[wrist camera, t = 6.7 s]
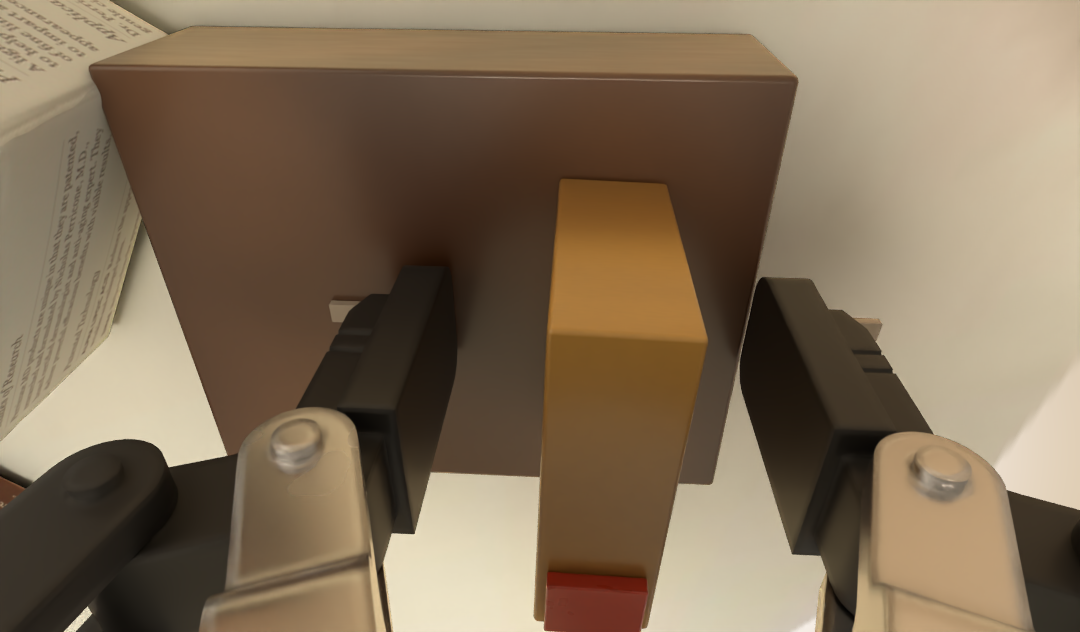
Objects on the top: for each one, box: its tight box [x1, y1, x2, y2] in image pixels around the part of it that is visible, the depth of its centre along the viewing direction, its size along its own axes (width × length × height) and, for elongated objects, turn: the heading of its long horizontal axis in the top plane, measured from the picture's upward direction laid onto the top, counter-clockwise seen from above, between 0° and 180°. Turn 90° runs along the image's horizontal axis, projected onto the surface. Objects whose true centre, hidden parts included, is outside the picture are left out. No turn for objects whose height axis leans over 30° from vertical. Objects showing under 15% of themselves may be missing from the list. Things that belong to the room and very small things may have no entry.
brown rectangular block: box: [89, 26, 882, 485], centre depth 12 cm, size 12×8×3 cm, turn 90°
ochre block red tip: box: [534, 179, 708, 632], centre depth 9 cm, size 5×2×4 cm, turn 178°
